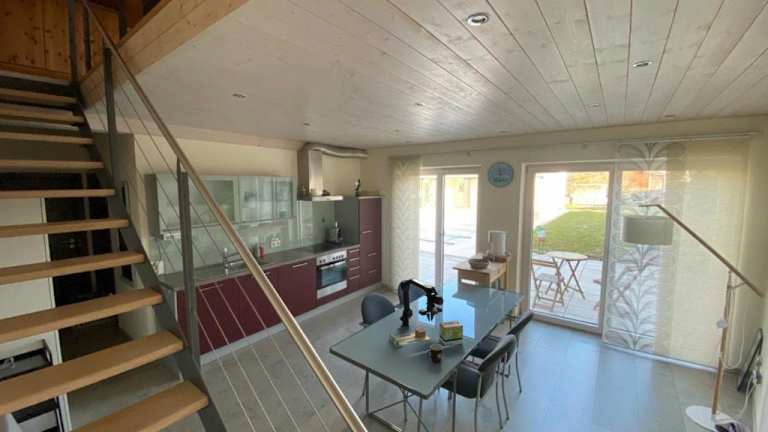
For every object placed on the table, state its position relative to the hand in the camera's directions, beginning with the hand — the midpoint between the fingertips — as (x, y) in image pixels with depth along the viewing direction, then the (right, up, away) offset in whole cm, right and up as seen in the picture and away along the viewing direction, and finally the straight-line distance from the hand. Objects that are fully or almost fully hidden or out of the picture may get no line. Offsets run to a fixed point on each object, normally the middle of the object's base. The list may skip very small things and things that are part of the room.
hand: (430, 321), depth 257 cm
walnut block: (-8, -11, -2) cm, 14 cm away
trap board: (-17, -13, -5) cm, 22 cm away
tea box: (+14, -13, -10) cm, 22 cm away
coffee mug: (-2, -16, -35) cm, 38 cm away
